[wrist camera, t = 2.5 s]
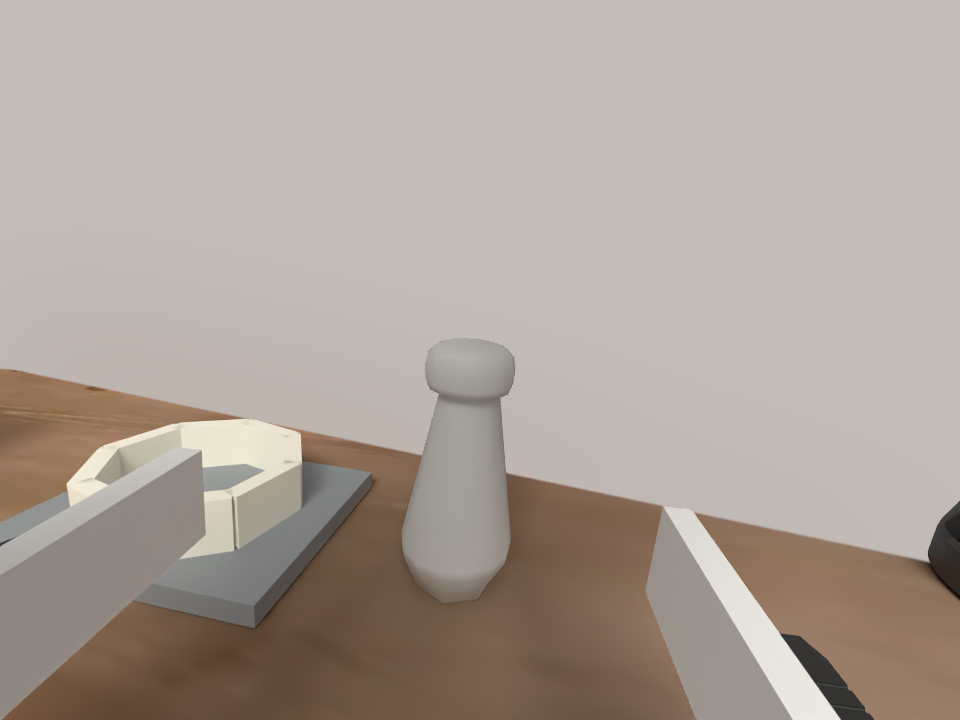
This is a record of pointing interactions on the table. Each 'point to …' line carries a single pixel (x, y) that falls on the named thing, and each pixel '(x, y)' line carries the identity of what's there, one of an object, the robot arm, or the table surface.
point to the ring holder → (222, 443)
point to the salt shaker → (461, 474)
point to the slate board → (254, 567)
